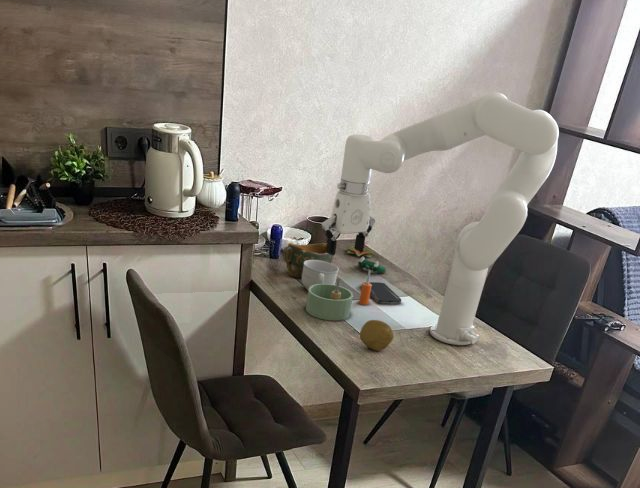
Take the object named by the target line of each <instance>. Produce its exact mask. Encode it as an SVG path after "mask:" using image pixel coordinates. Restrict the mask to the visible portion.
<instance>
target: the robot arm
mask: <svg viewBox="0 0 640 488" xmlns="http://www.w3.org/2000/svg"><path fill="white" fill-rule="evenodd" d="M559 133H560V131H559V126H558V123H557V121H556V120H555V119H554V118H553V117H552V115H551V114H550V113H548V112H547V111H545V110H543V109H535V110H534V109H533V110H532V109H530V108H527V107H525V106H523V105H521V104H518V103H516V102H514V101H512V100H510V99H509V98H508V97H507V96H505V95H504V94H503V93H501V92H497V91H493V92H489V93H486V94H484V95H481V96H479V97H477V98H474V99H472V100H468V101H467V102H464V103H462V104H460V105H458V106H455V107H453V108H451V109H448V110H446V111H443V112H440V113H439V114H437V115H434V116H431V117H429V118H427V119H424V120H422V121H419V122H417V123H414V124H412V125H409V126H406V127H405V128H401V129H400V130H397V131H395V132H393V133H390V134H388V135H386V136H384V137H383V138H382V139H380V140H375V139H374V138H373V137H372V136H369V135H365V134H350V135H349V136H348V137H347V138H346V140H345V146H344V152H343V161H342V166H341V167H342V168H341V175H340V183H337V186H336V187H337V189H338V191H336V192H337V193H336V196H335V199H334V202H333V205H332V206H333V207H332V210H331V216H330V217H328V218H327V219H326V220H324V221H322V223H321V228H322V231H323V234H324V235H325V237H326V238H327V241H326V243H327V250H326V252H327V253H329V254H331V255H334V256H335V255H336V251H337V245H338V241H337V240H336V239H337V238H338V236H339V235H340V234H341V235H349V234H356V236H355V242H354V246H353V247H354V248H355V249H356V250H358V251H360V252H363V249H364V247H365V244H366V238H368V236H369V233H370V232H371V231H372V230H373V227H374V225H375V223H376V219H375V218H374V217H372V216H371V204H372V203H371V193H370V192H369V189H370V182H371V176H372V171H373V170H374V171H377V172H380V173H382V174H383V173H384V174H393V173H395V172H398V170H399V169H400V168H401V167H402V166H403V163H404V162H406V161H407V160H410V159H412V158H414V157H417V156H419V155H423V154H426V153H431V152H434V151H435V152H437V151H438V152H442V151H443V152H444V151H449V150H452V149H454V148H457V147H459V146H462V145H463V144H466V143H468V142H471V141H473V140H475V139H478V138H482V137H484V136H487V137H489V138H491V139H493V140H496V141H498V142H499V143H502V144H504V145H507V146H510V147H512V148H514V149H517V150H519V151H520V153H519V156H518V158H517V160H516V162H514V164H513V166H512V168H511V169H510V170H509V172H508V173H507V175H506V176H505V177H504V179H503V180H502V181H501V183H500V184H499V185H498V186H497V188H496V189H495V190H494V192H492V194H491V195H490V196H489V197H488V199H487V201H486V204H485V213H484V215H482V217H481V219H480V220H479V221H473V222H470V223H469V224H467V225H465V226H464V227H463V228H462V230H461V231H460V233H459V235H458V237H457V240H456V245H455V250H454V255H453V258H452V259H453V260H452V264H451V268H450V271H449V277H448V279H447V283H446V287H445V291H444V295H443V300H442V304H441V307H440V312H439V315H438V319H437V323H435V324H433V325H432V326H431V327H429V328H430V329H429V334H430V335H431V336H432V338H434V339H436V340H437V341H440V342H442V343H445V344H448V345H453V346H467V345H471V344H472V345H475V344H476V343H477V341H478V340H479V339H480V337H481V336H480V335H479V334H477V333H475V329H476V327H475V326H474V325H473V324H474V321H475V318H476V314H477V310H478V307H479V303H480V299H481V297H482V292H483V290H484V286H485V283H486V280H487V276H488V271H489V268H490V266H492V265H493V264H494V263H495V262H496V261H497V260H498V258H499V257H500V256H501V255H502V254H503V252H504V251H505V250H506V249H507V248H508V247H509V245H510V244H511V242H512V241H513V240H514V239H515V238H516V236H517V235H518V234H519V232H520V231H521V230H522V228H523V227H524V225H525V222H526V220H527V218H528V205H529V203H530V202H531V201H532V199H533V198H534V197H535V196H536V194H537V193H538V191H539V190H540V189H541V187H542V186H543V184H544V183H545V182H546V180H547V178H548V177H549V176H550V173H551V172H552V170H553V168H554V165H555V162H556V158H557V153H558V139H559ZM364 243H365V244H364Z"/></svg>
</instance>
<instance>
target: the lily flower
mask: <svg viewBox="0 0 640 488" xmlns="http://www.w3.org/2000/svg"><path fill="white" fill-rule="evenodd" d="M368 243H369V242H368V240H367V241H366V242H365V243H364V249H363V252H360V251H358V250H356V249H355V248H354V247H355V246H350V247H348V248H346V250H348V251H347V252H346V254H354V255H356V256H357V257H361V256H363V257H367V258H372V255H375V256H376V255H377V254H376V253H375V250H372V249H368Z"/></svg>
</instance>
